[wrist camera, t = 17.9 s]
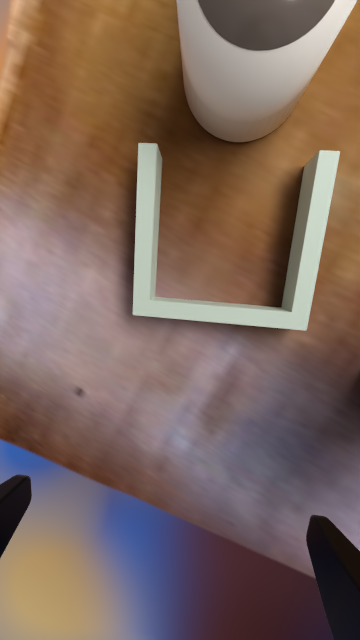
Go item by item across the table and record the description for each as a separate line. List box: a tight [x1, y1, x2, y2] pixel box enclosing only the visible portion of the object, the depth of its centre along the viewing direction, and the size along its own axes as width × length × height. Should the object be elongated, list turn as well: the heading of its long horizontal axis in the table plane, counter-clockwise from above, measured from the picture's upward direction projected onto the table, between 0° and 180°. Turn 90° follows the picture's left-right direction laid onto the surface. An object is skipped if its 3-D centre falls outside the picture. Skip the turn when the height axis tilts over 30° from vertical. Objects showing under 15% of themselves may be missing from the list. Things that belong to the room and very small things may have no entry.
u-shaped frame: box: [133, 143, 340, 330], centre depth 17 cm, size 12×11×2 cm
